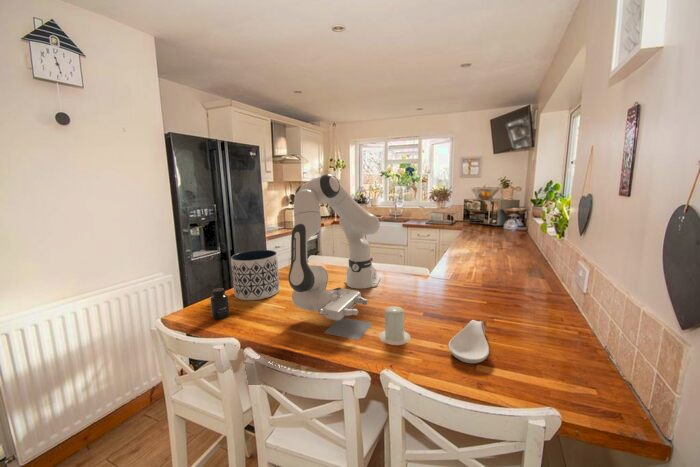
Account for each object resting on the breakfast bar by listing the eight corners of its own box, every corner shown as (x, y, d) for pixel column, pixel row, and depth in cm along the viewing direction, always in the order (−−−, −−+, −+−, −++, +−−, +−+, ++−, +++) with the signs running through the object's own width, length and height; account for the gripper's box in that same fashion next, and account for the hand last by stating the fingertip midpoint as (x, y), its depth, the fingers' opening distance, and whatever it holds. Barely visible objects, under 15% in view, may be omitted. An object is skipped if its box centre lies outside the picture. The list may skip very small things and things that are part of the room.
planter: (262, 303, 143) (258, 261, 140) (224, 298, 151) (220, 258, 148) (287, 287, 164) (285, 250, 161) (253, 284, 172) (250, 248, 168)
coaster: (385, 328, 115) (385, 327, 115) (413, 333, 110) (413, 332, 110) (374, 342, 105) (374, 341, 105) (405, 349, 101) (405, 347, 100)
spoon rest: (485, 374, 87) (486, 351, 86) (444, 362, 93) (444, 340, 92) (495, 337, 107) (496, 317, 106) (460, 329, 113) (460, 311, 112)
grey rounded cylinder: (389, 331, 112) (388, 305, 110) (405, 334, 109) (405, 307, 107) (383, 339, 106) (383, 312, 105) (400, 342, 104) (400, 314, 102)
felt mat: (340, 318, 125) (340, 317, 125) (372, 324, 119) (372, 322, 119) (323, 334, 112) (323, 332, 112) (358, 341, 106) (358, 340, 106)
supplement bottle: (223, 320, 126) (220, 293, 124) (208, 319, 128) (205, 292, 126) (232, 313, 133) (230, 287, 131) (218, 312, 134) (215, 286, 132)
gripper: (315, 305, 109) (350, 310, 103) (341, 285, 127) (372, 289, 121) (316, 321, 110) (351, 327, 104) (341, 300, 128) (372, 304, 122)
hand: (362, 307), depth 113 cm, fingers open, 8 cm apart
